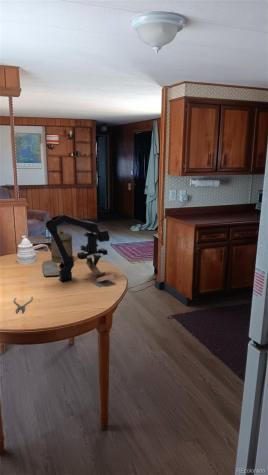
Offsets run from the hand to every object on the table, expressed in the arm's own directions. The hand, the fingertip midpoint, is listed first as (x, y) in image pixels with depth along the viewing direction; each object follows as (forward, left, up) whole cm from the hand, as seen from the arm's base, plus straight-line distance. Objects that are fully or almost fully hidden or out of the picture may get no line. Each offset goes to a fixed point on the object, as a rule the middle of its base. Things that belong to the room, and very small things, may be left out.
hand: (92, 267), depth 215 cm
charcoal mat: (-1, -14, -6) cm, 15 cm away
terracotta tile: (0, -11, -5) cm, 12 cm away
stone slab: (-17, +27, -7) cm, 33 cm away
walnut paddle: (0, -1, -2) cm, 2 cm away
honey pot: (-23, +54, -6) cm, 59 cm away
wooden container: (-1, +43, -6) cm, 44 cm away
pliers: (-49, -17, -7) cm, 52 cm away
